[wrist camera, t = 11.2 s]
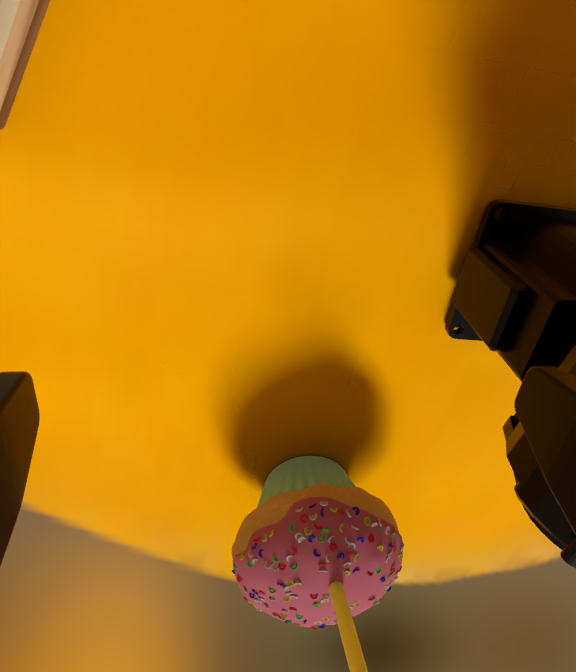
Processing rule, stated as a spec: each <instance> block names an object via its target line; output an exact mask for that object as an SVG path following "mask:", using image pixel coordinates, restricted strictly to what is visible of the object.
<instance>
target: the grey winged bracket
mask: <svg viewBox="0 0 576 672" xmlns="http://www.w3.org/2000/svg"><path fill="white" fill-rule="evenodd" d="M49 1H50V0H0V129H3V128H4V127H5V124H6V121H7V118H8V116H9V113H10V110H11V107H12V104H13V102H14V99H15V96H16V93H17V90H18V88H19V85H20V82H21V79H22V76H23V74H24V71H25V68H26V65H27V63H28V60H29V57H30V54H31V51H32V49H33V46H34V43H35V40H36V37H37V35H38V32H39V29H40V26H41V23H42V21H43V18H44V15H45V12H46V9H47V7H48V4H49Z"/></svg>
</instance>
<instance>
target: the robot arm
mask: <svg viewBox="0 0 576 672" xmlns="http://www.w3.org/2000/svg"><path fill="white" fill-rule="evenodd" d="M501 208H502V213H501V214H500V215H499V216H498V217H494V216H495V212H496V211H497V210H498V209H501ZM451 301H452V302H453V304H452V307H451V310H450V313H449V316H448V319H447V322H446V325H445V329H446V331H447V333H448V334H449V336H451V337H452V338H455V339H466V340H480V341H483V342H484V343H485V344H486V345H487V347H488V348H489V349H490V350H491V351H497V352H498V354H499V355H500V356H501V357H502V358H503V360H504V361H505V362H506V363H507V365H508V366H509V367H510V368H511V369H512V371H513V372H514V373H515V374H516V376H517V377H518V378H519V379H520V380H521V382H522V384H521V386H520V389H519V391H518V394H517V396H516V399H515V411H516V414H515V415H514V416H510V417H509V419H508V420H507V421H506V423H505V424H504V426H503V430H504V434H505V439H506V451H507V458H508V460H509V462H510V465H511V467H512V469H513V472H514V476H515V480H516V485H515V488H514V490H515V492H516V495H517V497H518V499H519V500H520V502H521V503H522V505H523V507H524V509H525V511H526V512H527V514H528V515H529V518H530V519H531V520H532V522H533V523H534V524H535V525H536V526H537V527H538V528H539V530H540V531H541V532H542V533H543V534H544V535H545V536H546V537H547V538H548V539H549V540H551V541H552V542H553V543H554V544H555V545H556V546H558V547H559V548H560V549H562V550H563V551H562V552H561V553H560V554H561V557H562V558H563V560H564V561H565V562H566V563H568V564H569V565H571V566H573V567H574V568H576V209H573V208H565V207H557V206H549V205H541V204H533V203H525V202H517V201H509V200H495V201H492V202H491V203H490V204H489V205H488V206H487V208H486V209H485V212H484V215H483V218H482V221H481V223H480V226H479V229H478V232H477V235H476V238H475V241H474V244H473V247H471V248H470V249H469V250H468V252H467V255H466V258H465V261H464V263H463V266H462V269H461V272H460V275H459V278H458V281H457V284H456V287H455V290H454V293H453V296H452V299H451ZM457 325H461V326H460V327H459V328H458V329H457V330H454V328H455V327H456V326H457ZM38 427H39V408H38V403H37V398H36V394H35V389H34V384H33V380H32V377H31V375H30V374H29V373H27V372H1V373H0V566H1V563H2V560H3V558H4V555H5V552H6V549H7V546H8V543H9V540H10V537H11V535H12V532H13V529H14V526H15V523H16V520H17V517H18V514H19V511H20V508H21V504H22V500H23V496H24V491H25V487H26V482H27V477H28V473H29V468H30V464H31V459H32V454H33V450H34V445H35V440H36V436H37V431H38Z"/></svg>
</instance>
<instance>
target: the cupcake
mask: <svg viewBox="0 0 576 672" xmlns="http://www.w3.org/2000/svg"><path fill="white" fill-rule="evenodd" d="M403 547H404V544H403V542H402V537H401V535H400V534H399V532H398V527H397V524H396V521H395V519H394V517H393V515H392V513H391V511H390V510H389V508H388V507H387V506H386V504H385V503H384V502H383V501H382V500H381V499H379V498H377V497H375V496H373V495H371V494H369V493H368V492H366V491H365V490H363V489H361V488H359V487H356V486H355V485H354V484H353V482H352V481H351V480H350V478H349V477H348V476H347V474H346V472H345V471H344V469H343V468H342V467H341V466H340V465H339V464H337V463H336V462H334V461H333V460H331V459H328V458H325V457H321V456H300V457H296V458H292V459H289V460H287V461H285V462H283V463H281V464H280V465H278V466H277V467H276V468H275V469H273V470H272V472H271V473H270V474H269V475H268V477H267V479H266V481H265V484H264V488H263V491H262V495H261V498H260V501H259V504H258V506H257V508H256V509H255V510H253V511H252V512H251V513H250V514H249V515H248V516H247V517H246V518H245V519H244V521H243V522H242V524H241V526H240V528H239V531H238V533H237V536H236V540H235V542H234V544H233V546H232V557H233V569H234V570H232V572H233V573H234V574H235V576H236V579H237V583H238V586H239V588H240V590H241V592H242V593H243V595H244V598H245V599H246V600H247V601H249V604H251V605H254V606H255V609H256V610H257V611H261V610H262V611H264V612H266V613H267V614H269V615H271V616H273V617H275V618H277V619H280V620H282V621H285V623H292V624H294V625H295V626H298V627H300V626H304V627H312V628H313V629H317V628H324V627H325V625H329V624H332V625H335V624H336V623H338V626H339V630H340V634H341V638H342V642H343V646H344V650H345V654H346V658H347V662H348V665H349V670H350V672H368V670H367V667H366V663H365V660H364V657H363V653H362V649H361V646H360V643H359V639H358V635H357V632H356V629H355V625H354V622H353V618H352V617H354V616H356V615H358V614H359V613H361V612H363V611H364V610H366V609H368V608H370V607H371V606H374V605H375V604H376V603H380V601H381V597H382V596H383V595H384V593H385V592H386V591H389V590H390V589H391V585H392V583H393V582H394V580H395V579H396V580H398V576H397V574H398V572H400V570H401V568H402V566H401V563H402V557H403V555H402V554H403ZM389 587H390V588H389ZM378 600H379V601H378ZM257 607H258V609H257ZM322 625H323V626H322Z"/></svg>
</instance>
